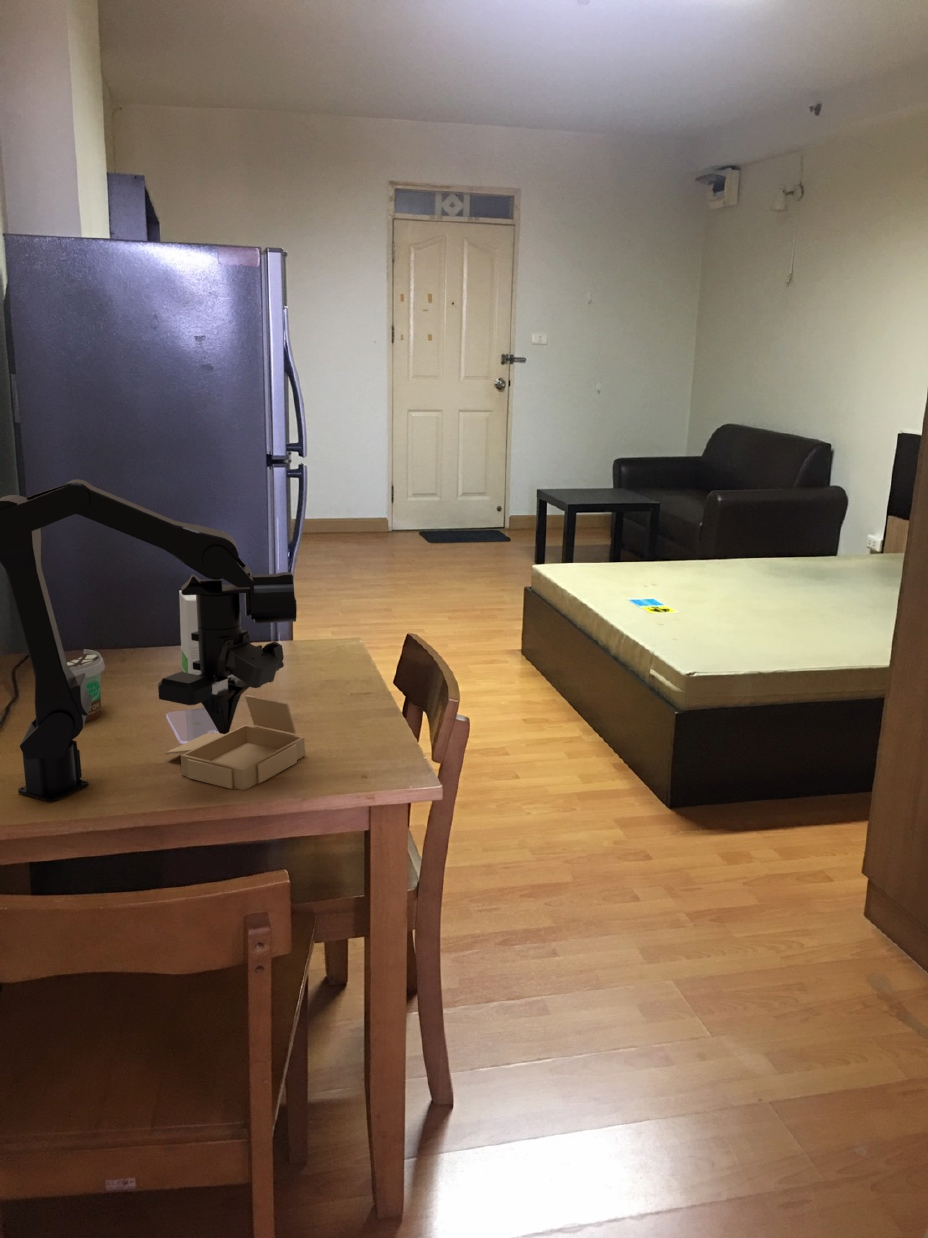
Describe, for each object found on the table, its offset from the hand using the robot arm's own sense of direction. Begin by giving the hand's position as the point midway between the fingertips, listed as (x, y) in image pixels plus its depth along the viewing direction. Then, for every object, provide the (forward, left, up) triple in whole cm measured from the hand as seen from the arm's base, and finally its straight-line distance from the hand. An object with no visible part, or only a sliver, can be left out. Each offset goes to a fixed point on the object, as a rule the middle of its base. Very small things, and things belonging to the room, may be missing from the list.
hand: (224, 733), depth 135 cm
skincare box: (+35, +35, -6) cm, 50 cm away
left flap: (+4, +5, -3) cm, 8 cm away
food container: (+7, +35, -6) cm, 36 cm away
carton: (+4, 0, -6) cm, 8 cm away
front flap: (+11, 0, -3) cm, 11 cm away
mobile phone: (+13, +17, -7) cm, 23 cm away
